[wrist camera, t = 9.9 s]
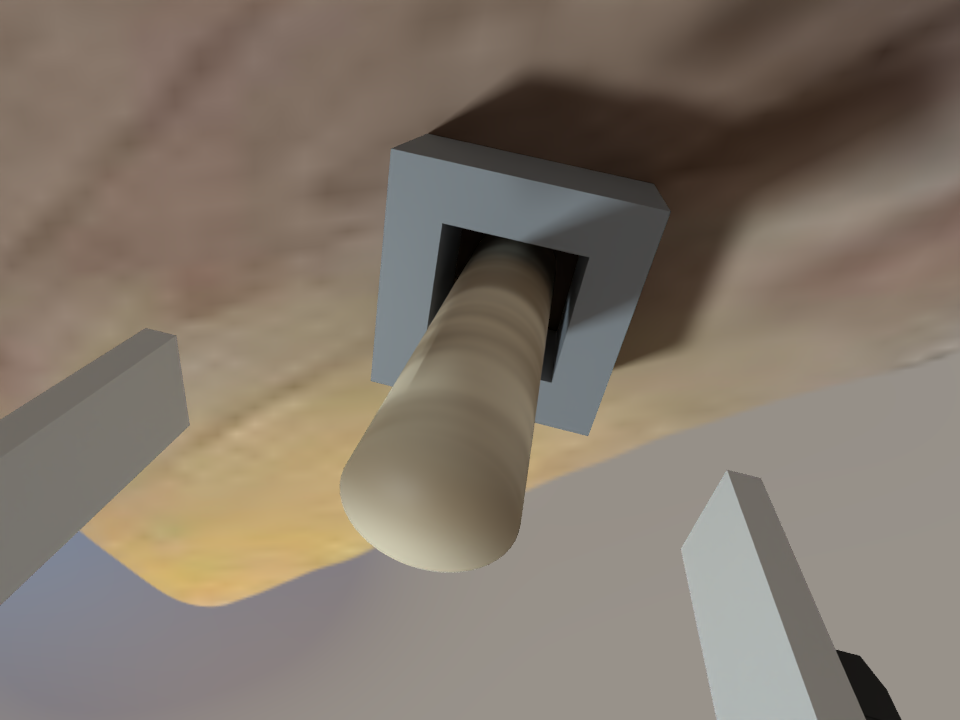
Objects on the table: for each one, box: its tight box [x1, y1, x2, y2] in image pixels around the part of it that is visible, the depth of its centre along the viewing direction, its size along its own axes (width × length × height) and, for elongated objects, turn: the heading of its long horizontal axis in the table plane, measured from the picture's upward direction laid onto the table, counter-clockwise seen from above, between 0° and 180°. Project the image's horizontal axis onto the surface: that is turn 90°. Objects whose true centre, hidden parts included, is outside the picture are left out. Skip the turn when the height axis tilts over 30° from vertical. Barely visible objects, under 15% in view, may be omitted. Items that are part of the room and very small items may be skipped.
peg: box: [340, 234, 556, 572], centre depth 18 cm, size 4×4×16 cm
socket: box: [371, 134, 671, 436], centre depth 23 cm, size 10×10×5 cm
